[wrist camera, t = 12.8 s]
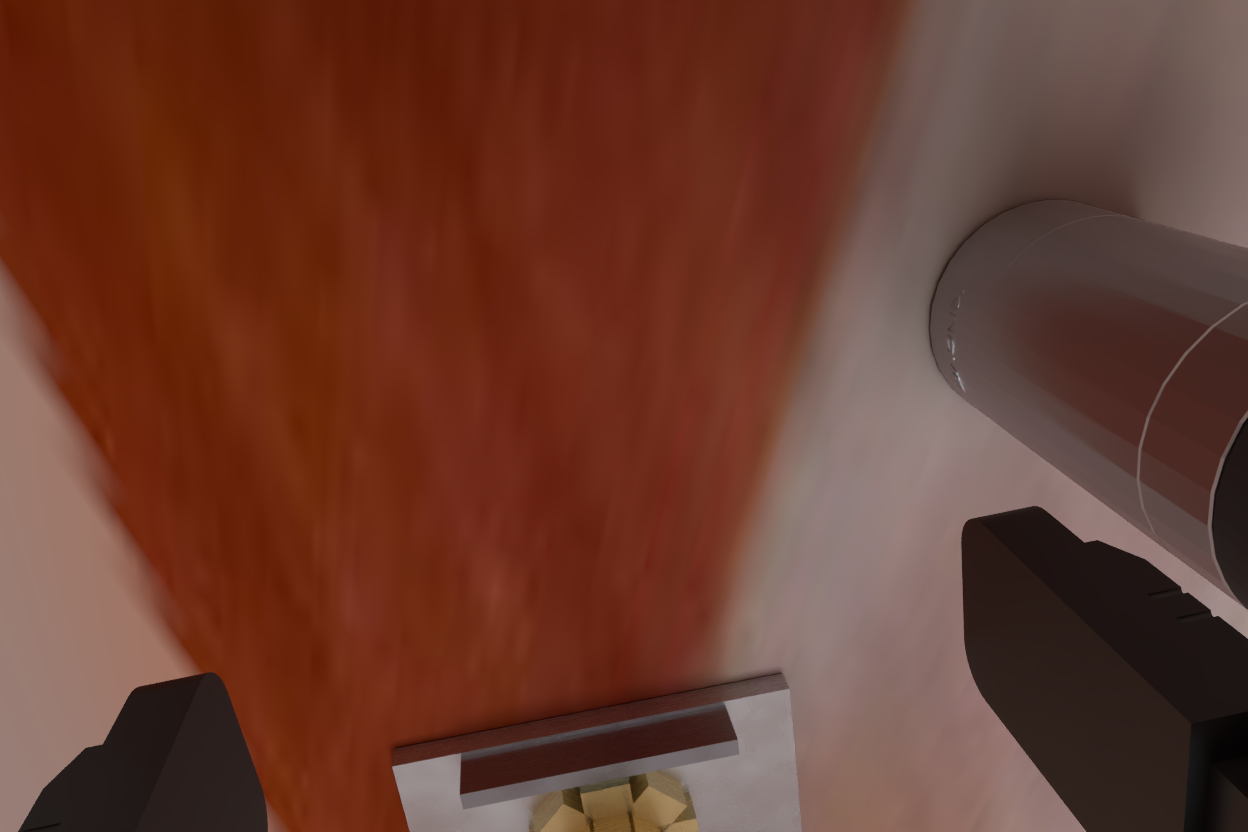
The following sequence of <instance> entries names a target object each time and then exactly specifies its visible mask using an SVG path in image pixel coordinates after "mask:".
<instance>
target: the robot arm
mask: <svg viewBox="0 0 1248 832" xmlns="http://www.w3.org/2000/svg"><path fill="white" fill-rule="evenodd" d="M930 334H931V342H932V349H933V353H934V356H935V359H936V361H937V364H938V367H939V369H940V372H941V373H942V375H943V376H944V378H945V379H946V380H947V382H948V383H949V385H950V386H951V388H952V389H953V390H955V391H956V392H957V393H958V394H959V395H960V396H961V397H963V398H964V399H965V400H966V401H967V402H969V403H970V404H971V405H973V406H974V407H975V408H977V409H978V410H979V411H981V412H982V413H983V414H985V415H986V416H987V417H989V418H990V419H991V420H993V421H994V422H995V423H997V424H998V425H999V426H1001V427H1002V428H1003V429H1004V430H1006V431H1007V432H1008V433H1010V434H1011V435H1012V436H1014V437H1015V438H1016V439H1018V440H1019V441H1020V442H1022V443H1023V444H1024V445H1026V446H1027V447H1028V448H1030V449H1031V450H1032V451H1034V452H1035V453H1036V454H1038V455H1039V456H1040V457H1042V458H1043V459H1044V460H1046V461H1047V462H1049V463H1050V464H1051V465H1053V466H1054V467H1055V468H1057V469H1058V470H1059V471H1061V472H1062V473H1063V474H1065V475H1066V476H1067V477H1069V478H1070V479H1071V480H1073V481H1074V482H1075V483H1077V484H1078V485H1079V486H1081V487H1082V488H1084V489H1085V490H1086V491H1088V492H1089V493H1090V494H1092V495H1093V496H1094V497H1096V498H1097V499H1098V500H1100V501H1101V502H1102V503H1104V504H1105V505H1106V506H1108V507H1109V508H1110V509H1112V510H1113V511H1114V512H1116V513H1117V514H1119V515H1120V516H1121V517H1123V518H1124V519H1125V520H1127V521H1128V522H1129V523H1131V524H1132V525H1133V526H1135V527H1136V528H1137V529H1139V530H1140V531H1141V532H1143V533H1144V534H1145V535H1147V536H1148V537H1149V538H1151V539H1152V540H1154V541H1155V542H1156V543H1158V544H1159V545H1160V546H1162V547H1163V548H1164V549H1166V550H1167V551H1168V552H1170V553H1171V554H1173V555H1174V556H1176V557H1177V558H1178V559H1180V560H1181V561H1182V562H1184V563H1185V564H1186V565H1188V566H1189V567H1190V568H1192V569H1193V570H1195V571H1196V572H1197V573H1199V574H1200V575H1201V576H1203V577H1204V578H1205V579H1207V580H1208V581H1209V582H1211V583H1212V584H1213V585H1215V586H1216V587H1217V588H1219V589H1220V590H1221V591H1223V592H1224V593H1225V594H1227V595H1228V596H1229V597H1231V598H1232V599H1233V600H1235V601H1236V602H1238V603H1239V604H1240V605H1242V606H1243V607H1245V608H1246V609H1247V610H1248V248H1244V247H1240V246H1237V245H1233V244H1229V243H1226V242H1222V241H1218V240H1215V239H1211V238H1207V237H1203V236H1200V235H1196V234H1192V233H1189V232H1185V231H1181V230H1178V229H1174V228H1170V227H1166V226H1163V225H1159V224H1155V223H1152V222H1148V221H1145V220H1142V219H1138V218H1134V217H1131V216H1127V215H1123V214H1120V213H1116V212H1112V211H1108V210H1105V209H1101V208H1097V207H1094V206H1090V205H1086V204H1083V203H1079V202H1075V201H1066V200H1053V199H1050V200H1044V201H1037V202H1031V203H1026V204H1024V205H1021V206H1018V207H1016V208H1013V209H1010V210H1008V211H1005V212H1003V213H1002V214H1000V215H999V216H997V217H995V218H994V219H992V220H990V221H989V222H987V223H986V224H984V225H983V226H982V227H981V228H980V229H978V230H977V231H976V232H975V233H974V234H973V235H972V236H971V237H970V238H969V239H967V240H966V241H965V242H964V244H963V245H962V246H961V248H960V249H959V250H958V252H957V253H956V254H955V255H954V257H953V258H952V259H951V261H950V262H949V264H948V266H947V268H946V270H945V272H944V274H943V276H942V278H941V280H940V282H939V284H938V287H937V291H936V294H935V298H934V301H933V305H932V311H931V323H930ZM961 545H962V579H963V613H964V641H965V650H966V655H967V659H968V663H969V667H970V670H971V673H972V676H973V678H974V680H975V683H976V685H977V687H978V689H979V691H980V693H981V694H982V696H983V697H984V699H985V700H986V702H987V703H988V704H989V706H990V707H991V708H992V710H993V711H994V712H995V713H996V715H997V716H998V717H999V719H1000V720H1001V721H1002V723H1003V724H1004V725H1005V726H1006V728H1007V729H1008V730H1009V732H1010V733H1011V734H1012V736H1013V737H1014V738H1015V739H1016V741H1017V742H1018V743H1019V745H1020V746H1021V747H1022V748H1023V750H1024V751H1025V752H1026V754H1027V755H1028V756H1029V758H1030V759H1031V760H1032V761H1033V763H1034V764H1035V765H1036V767H1037V768H1038V769H1039V771H1040V772H1041V773H1042V774H1043V776H1044V777H1045V778H1046V780H1047V781H1048V782H1049V784H1050V785H1051V786H1052V787H1053V789H1054V790H1055V791H1056V793H1057V794H1058V795H1059V797H1060V798H1061V799H1062V800H1063V802H1064V803H1065V804H1066V806H1067V807H1068V808H1069V810H1070V811H1071V812H1072V813H1073V815H1074V816H1075V817H1076V819H1077V820H1078V821H1079V823H1080V824H1081V825H1082V826H1083V828H1084V829H1085V830H1086V832H1248V639H1247V638H1246V637H1245V636H1243V635H1242V634H1241V633H1240V632H1238V631H1237V630H1236V629H1234V628H1233V627H1232V626H1230V625H1229V624H1228V623H1227V622H1225V621H1224V620H1223V619H1221V618H1220V617H1219V616H1216V617H1213V616H1212V614H1211V610H1210V609H1209V608H1207V607H1206V606H1205V605H1203V604H1202V603H1201V602H1200V601H1198V600H1197V599H1196V598H1194V597H1193V596H1192V595H1191V594H1189V593H1184V594H1183V592H1182V590H1181V587H1180V586H1179V585H1178V584H1176V583H1175V582H1174V581H1172V580H1171V579H1170V578H1169V577H1167V576H1166V575H1165V574H1163V573H1162V572H1161V571H1160V570H1158V569H1157V568H1156V567H1154V566H1153V565H1152V564H1151V563H1149V562H1148V561H1147V560H1145V559H1143V558H1140V557H1138V556H1135V555H1133V554H1130V553H1128V552H1125V551H1123V550H1120V549H1118V548H1115V547H1113V546H1110V545H1108V544H1105V543H1103V542H1100V541H1098V540H1096V541H1091V542H1086V543H1084V542H1083V541H1082V540H1081V539H1079V538H1078V537H1077V536H1076V535H1075V534H1073V533H1072V532H1071V531H1070V530H1068V529H1067V528H1066V527H1065V526H1064V525H1062V524H1061V523H1060V522H1059V521H1058V520H1056V519H1055V518H1054V517H1053V516H1052V515H1050V514H1049V513H1048V512H1047V511H1045V510H1044V509H1042V508H1040V507H1038V506H1032V507H1027V508H1022V509H1017V510H1012V511H1008V512H1003V513H998V514H993V515H988V516H983V517H978V518H973V519H970V520H968V521H967V522H966V523H965V525H964V527H963V531H962V542H961ZM18 832H268V823H267V811H266V804H265V798H264V794H263V790H262V787H261V784H260V781H259V778H258V776H257V773H256V770H255V767H254V764H253V762H252V759H251V756H250V753H249V751H248V748H247V745H246V742H245V739H244V737H243V734H242V731H241V728H240V725H239V723H238V720H237V717H236V714H235V712H234V709H233V706H232V703H231V700H230V698H229V695H228V692H227V690H226V687H225V685H224V683H223V682H222V680H221V679H220V677H219V676H218V675H216V674H215V673H213V672H209V673H204V674H199V675H194V676H189V677H184V678H180V679H175V680H170V681H165V682H160V683H155V684H150V685H145V686H140V687H138V688H136V689H134V690H133V691H132V692H131V694H130V695H129V697H128V699H127V700H126V702H125V704H124V706H123V708H122V710H121V712H120V713H119V715H118V717H117V719H116V721H115V723H114V725H113V726H112V729H111V730H110V732H109V734H108V736H107V738H106V740H105V741H104V743H103V745H98V746H93V747H88V748H85V749H84V750H83V751H82V752H81V753H80V754H79V755H78V756H77V757H76V758H75V759H74V760H73V761H72V762H71V763H70V764H69V765H68V766H67V767H65V768H64V769H63V770H62V771H61V772H60V773H59V774H58V775H57V776H56V777H55V778H54V779H53V780H52V781H51V782H50V783H49V784H48V785H47V786H46V787H45V788H44V789H43V790H42V792H41V794H40V795H39V797H38V799H37V800H36V802H35V804H34V805H33V807H32V809H31V811H30V812H29V814H28V816H27V817H26V819H25V821H24V823H23V824H22V826H21V828H20V829H19V831H18Z"/></svg>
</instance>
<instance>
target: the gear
mask: <svg viewBox="0 0 1248 832" xmlns="http://www.w3.org/2000/svg"><path fill="white" fill-rule="evenodd" d="M579 787H580V788H578V787H574V788H569V789H564V790H559V791H554V792H550V793H549V794H548V795H547V796H546V798H545V799H544V800H543V801H542V802H541V804H540V805H539V806H538V807H537V808H536V810H535V811H534V812H533V820H534V827H530V828H529V832H699V831H698V824H697V818H696V814H695V811H694V807H693V803H692V800H691V796H690V794H686V795H684V792H683V788H682V784H681V781H679V780H677V779H675V778H673V777H671V776H669V775H667V774H665V773H664V772H662V771H660V770H659V771H654V772H649V773H644V774H639V775H634V776H631V777H630V778H628V777H624V778H619V779H614V780H609V781H604V782H599V783H594V784H589V785H584V786H579Z"/></svg>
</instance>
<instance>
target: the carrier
mask: <svg viewBox="0 0 1248 832" xmlns="http://www.w3.org/2000/svg"><path fill="white" fill-rule="evenodd" d="M392 768H393V771H394V775H395V779H396V782H397V786H398V790H399V793H400V797H401V801H402V804H403V808H404V812H405V815H406V819H407V823H408V826H409V830H410V832H529V828H530V827H534V820H533V812H534V811H535V810H536V808H537V807H538V806H539V805H540V804H541V802H542V801H543V800H544V799H545V798H546V796H547V795H548V794H549V793H550V792H554V791H559V790H564V789H569V788H574V787H578V788H580V787H579V786H584V785H589V784H594V783H599V782H604V781H609V780H614V779H619V778H624V777H628V778H630V777H631V776H634V775H639V774H644V773H649V772H654V771H659V770H660V771H662V772H664V773H665V774H667V775H669V776H671V777H673V778H675V779H677V780H679V781H681V784H682V788H683V792H684V795H686V794H690V796H691V800H692V803H693V807H694V811H695V814H696V818H697V824H698V831H699V832H802V826H801V815H800V803H799V792H798V780H797V769H796V758H795V746H794V735H793V723H792V712H791V701H790V689H789V687H788V685H787V682H786V680H785V678H784V676H783V674H782V673H781V674H775V675H770V676H765V677H760V678H755V679H750V680H745V681H739V682H734V683H729V684H724V685H719V686H714V687H709V688H704V689H698V690H693V691H688V692H683V693H678V694H673V695H668V696H662V697H657V698H652V699H647V700H642V701H637V702H632V703H626V704H621V705H616V706H611V707H606V708H601V709H596V710H591V711H585V712H580V713H575V714H570V715H565V716H560V717H555V718H549V719H544V720H539V721H534V722H529V723H524V724H519V725H513V726H508V727H503V728H498V729H493V730H488V731H483V732H478V733H472V734H467V735H462V736H457V737H452V738H447V739H442V740H436V741H431V742H426V743H421V744H416V745H411V746H406V747H400V748H395V749H394V756H393V764H392Z"/></svg>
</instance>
